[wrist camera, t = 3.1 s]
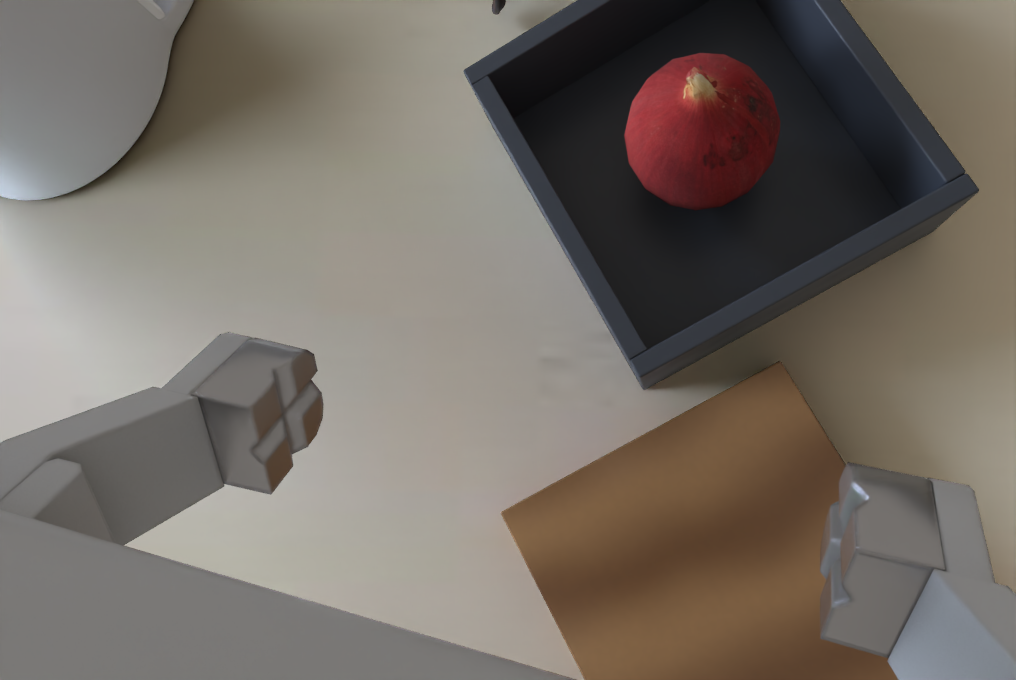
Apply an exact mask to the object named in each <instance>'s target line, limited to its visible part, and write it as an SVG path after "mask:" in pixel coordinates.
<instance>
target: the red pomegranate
mask: <svg viewBox="0 0 1016 680" xmlns="http://www.w3.org/2000/svg"><path fill="white" fill-rule="evenodd" d="M779 133H780V118H779V115H778V112H777V108H776V105H775V102H774V98H773V95H772V92H771V91H770V89H769V88H768V87H767V85H766V84H765V83H764V82H763V81H762V80H761V79H760V78H759V76H758V75H757V74H756V73H755V72H754V71H753V70H752V69H751V67H749V66H747V65H746V64H744V63H742V62H739V61H737V60H735V59H733V58H731V57H729V56H727V55H725V54H710V53H697V54H693V55H689V56H685V57H681V58H676V59H672V60H671V61H670V62H668V63H667V64H666V65H664V66H663V67H662V68H660V69H659V70H658V71H656V72H655V73H654V74H652V75H651V76H650V77H649V78H648V79H647V80H646V82H645V83H644V85H643V86H642V88H641V89H640V91H639V92H638V94H637V95H636V97H635V98H634V100H633V101H632V104H631V108H630V112H629V117H628V121H627V125H626V130H625V134H624V136H625V143H626V149H627V155H628V161H629V164H630V166H631V167H632V169H633V170H634V172H635V174H636V175H637V177H638V178H639V180H640V181H641V183H642V185H643V186H644V188H645V189H646V190H647V191H649V192H650V193H652V194H653V195H655V196H656V197H658V198H660V199H661V200H663V201H664V202H666V203H667V204H669V205H671V206H676V207H681V208H686V209H691V210H701V209H708V208H715V207H722V206H724V205H726V204H728V203H730V202H731V201H733V200H735V199H737V198H739V197H741V196H742V195H744V194H746V193H748V192H749V191H750V189H751V188H752V187H753V186H754V185H755V183H756V182H757V181H758V180H759V179H760V178H761V176H762V175H763V174H764V173H765V172H766V170H767V169H768V168H769V167H770V165H771V164H772V163H773V160H774V155H775V151H776V147H777V142H778V138H779Z"/></svg>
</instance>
